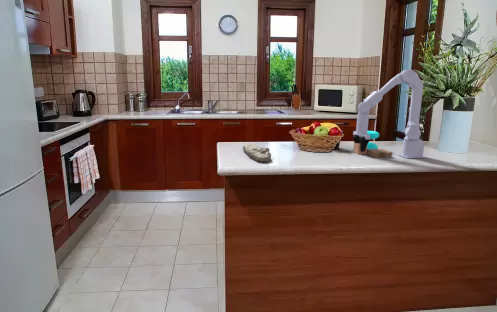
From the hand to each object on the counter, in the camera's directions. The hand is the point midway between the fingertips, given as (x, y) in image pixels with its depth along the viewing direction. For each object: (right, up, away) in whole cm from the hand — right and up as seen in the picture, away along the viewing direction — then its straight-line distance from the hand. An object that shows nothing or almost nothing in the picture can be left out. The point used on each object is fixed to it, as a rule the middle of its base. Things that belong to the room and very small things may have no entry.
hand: (359, 150), depth 188 cm
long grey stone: (-56, -3, -8) cm, 56 cm away
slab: (+8, -3, -5) cm, 10 cm away
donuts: (+8, +1, +11) cm, 14 cm away
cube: (0, -1, 0) cm, 1 cm away
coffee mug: (-10, +1, +11) cm, 15 cm away
